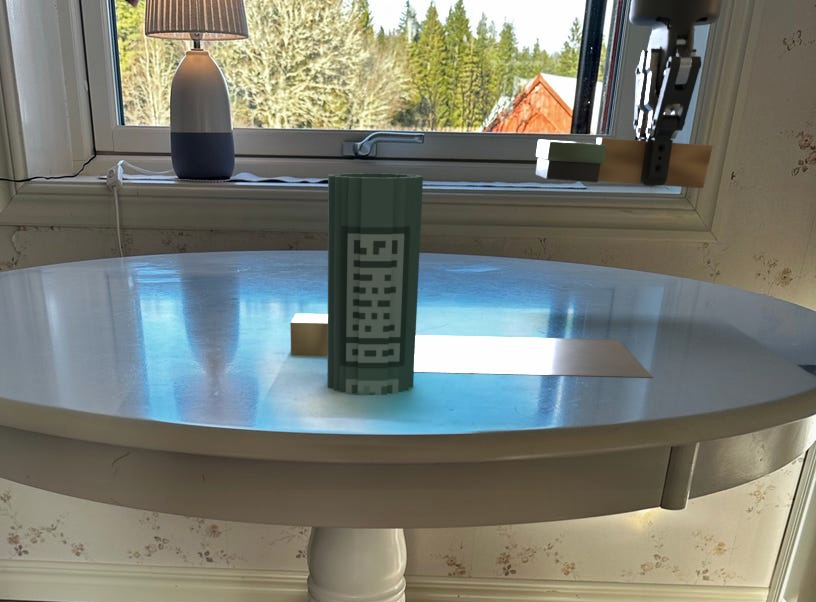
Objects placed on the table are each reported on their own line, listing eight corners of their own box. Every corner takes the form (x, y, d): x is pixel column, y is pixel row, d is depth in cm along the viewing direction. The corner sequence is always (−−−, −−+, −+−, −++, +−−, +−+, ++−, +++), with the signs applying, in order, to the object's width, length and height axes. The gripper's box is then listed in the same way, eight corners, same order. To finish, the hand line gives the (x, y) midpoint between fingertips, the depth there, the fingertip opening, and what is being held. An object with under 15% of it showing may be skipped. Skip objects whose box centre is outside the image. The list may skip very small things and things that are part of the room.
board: (616, 356, 84) (618, 339, 83) (650, 397, 72) (653, 377, 71) (389, 351, 85) (389, 334, 84) (384, 391, 73) (385, 371, 72)
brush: (688, 184, 92) (697, 144, 90) (712, 190, 85) (722, 146, 83) (533, 174, 92) (538, 133, 91) (544, 178, 85) (550, 134, 84)
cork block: (343, 314, 79) (295, 313, 79) (340, 323, 76) (290, 322, 76) (343, 363, 81) (296, 362, 81) (340, 374, 78) (291, 373, 78)
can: (407, 393, 72) (416, 173, 65) (415, 415, 67) (426, 178, 60) (326, 393, 72) (327, 172, 65) (328, 415, 67) (329, 177, 60)
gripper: (755, -56, 74) (711, 189, 83) (704, -32, 86) (670, 180, 95) (657, -56, 75) (623, 188, 83) (621, -32, 87) (594, 179, 95)
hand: (648, 183), depth 89 cm, fingers closed on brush, 2 cm apart
